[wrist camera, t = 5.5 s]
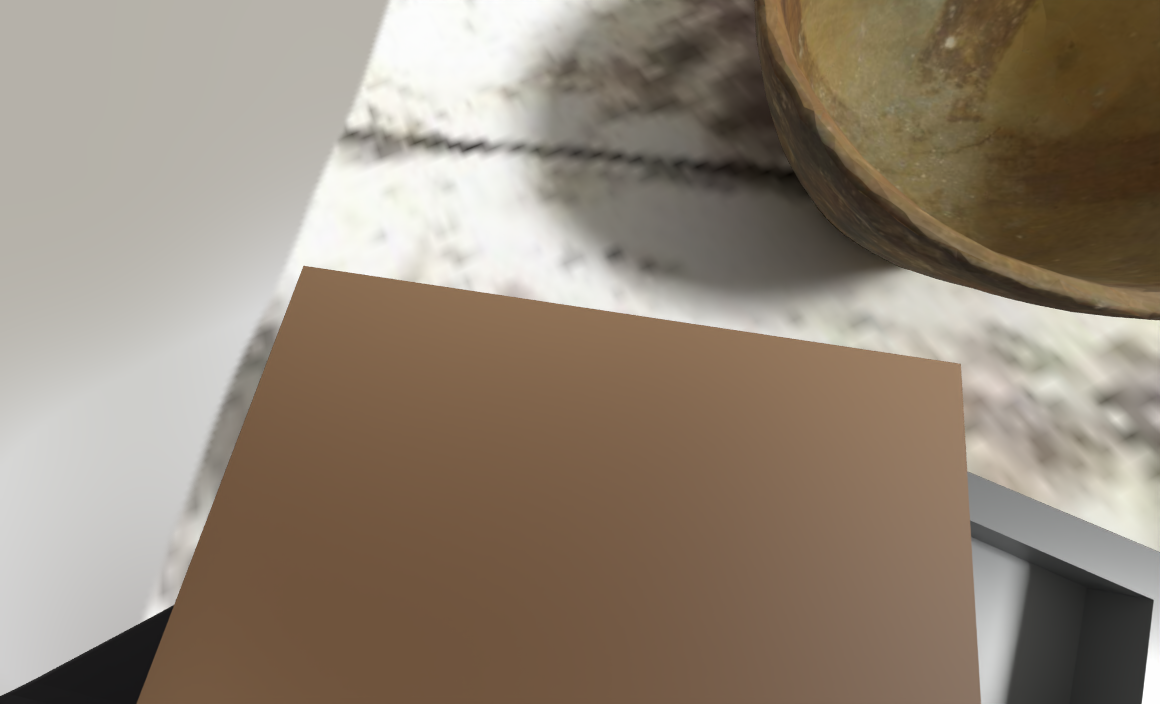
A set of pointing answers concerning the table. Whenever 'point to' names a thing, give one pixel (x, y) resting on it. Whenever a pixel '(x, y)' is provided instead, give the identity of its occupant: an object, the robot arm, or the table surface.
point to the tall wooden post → (576, 515)
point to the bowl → (981, 139)
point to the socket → (1060, 605)
